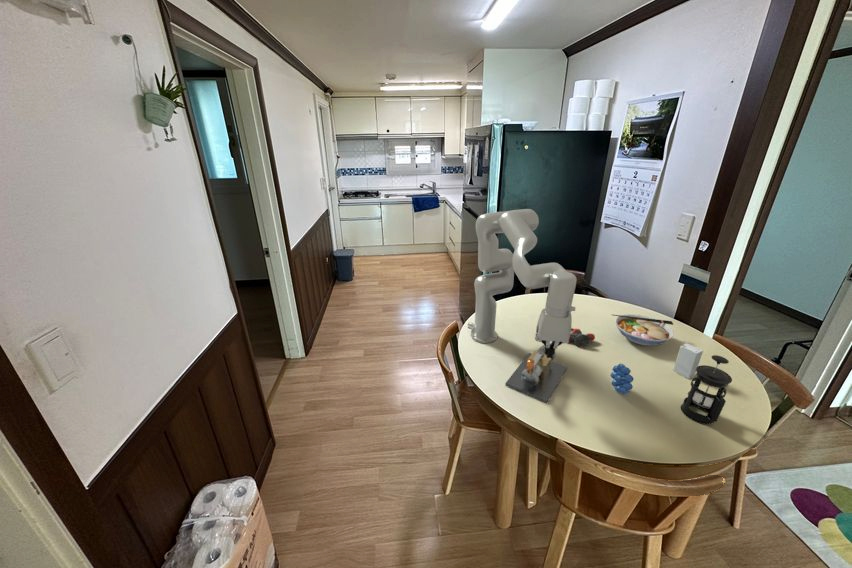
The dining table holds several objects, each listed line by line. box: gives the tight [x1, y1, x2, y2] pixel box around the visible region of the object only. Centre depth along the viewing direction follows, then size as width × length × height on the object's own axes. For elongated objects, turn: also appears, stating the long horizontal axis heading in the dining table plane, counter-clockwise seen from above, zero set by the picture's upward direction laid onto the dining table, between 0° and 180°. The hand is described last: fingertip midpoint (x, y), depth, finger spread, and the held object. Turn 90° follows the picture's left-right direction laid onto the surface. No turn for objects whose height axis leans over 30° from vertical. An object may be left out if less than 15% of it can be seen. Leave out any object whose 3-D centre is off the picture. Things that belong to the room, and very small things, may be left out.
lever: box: [526, 349, 544, 373], centre depth 122 cm, size 15×3×5 cm, turn 144°
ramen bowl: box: [611, 313, 674, 346], centre depth 152 cm, size 25×23×8 cm
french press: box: [680, 354, 733, 425], centre depth 108 cm, size 12×9×23 cm
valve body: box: [504, 344, 568, 404], centre depth 130 cm, size 16×24×10 cm, turn 143°
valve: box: [535, 327, 596, 348], centre depth 157 cm, size 6×26×15 cm
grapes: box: [610, 363, 634, 395], centre depth 121 cm, size 12×7×12 cm, turn 178°
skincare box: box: [672, 343, 704, 380], centre depth 130 cm, size 6×4×12 cm
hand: (548, 355), depth 114 cm, fingers closed
